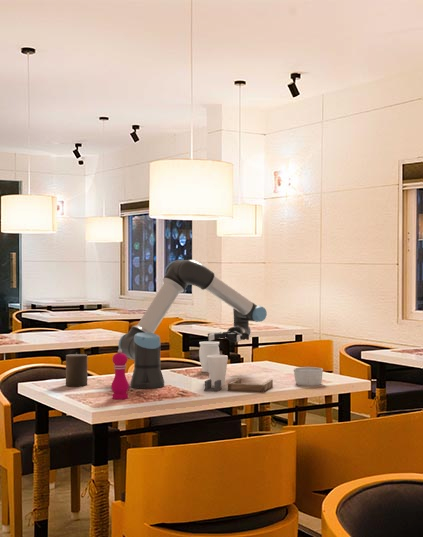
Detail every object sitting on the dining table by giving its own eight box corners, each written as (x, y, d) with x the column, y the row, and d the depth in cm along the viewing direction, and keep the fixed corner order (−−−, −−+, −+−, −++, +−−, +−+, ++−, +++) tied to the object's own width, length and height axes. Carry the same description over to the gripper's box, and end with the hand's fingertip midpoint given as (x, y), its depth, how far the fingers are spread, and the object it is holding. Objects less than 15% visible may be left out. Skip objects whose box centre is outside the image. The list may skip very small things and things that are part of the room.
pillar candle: (79, 387, 335) (79, 353, 335) (61, 386, 339) (61, 352, 339) (91, 384, 344) (91, 351, 344) (73, 383, 348) (74, 350, 348)
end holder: (264, 392, 319) (264, 385, 319) (227, 390, 324) (227, 383, 324) (272, 386, 334) (272, 379, 334) (237, 385, 339) (237, 378, 339)
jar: (196, 370, 388) (196, 341, 388) (216, 369, 391) (215, 340, 391) (202, 373, 378) (202, 343, 378) (222, 372, 381) (222, 342, 381)
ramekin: (313, 387, 332) (313, 371, 332) (288, 384, 340) (288, 369, 340) (328, 383, 342) (328, 368, 342) (303, 381, 350) (303, 366, 350)
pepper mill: (129, 396, 310) (129, 348, 310) (128, 399, 303) (128, 349, 303) (112, 396, 310) (111, 348, 310) (110, 399, 303) (110, 350, 303)
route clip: (217, 391, 322) (217, 381, 322) (204, 390, 324) (204, 381, 324) (221, 389, 328) (221, 379, 328) (208, 388, 330) (208, 379, 330)
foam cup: (228, 383, 344) (228, 354, 344) (227, 386, 335) (226, 357, 335) (208, 383, 345) (207, 354, 345) (205, 386, 336) (205, 357, 336)
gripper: (260, 342, 366) (249, 346, 346) (211, 341, 373) (197, 345, 353) (260, 326, 366) (249, 330, 346) (211, 326, 373) (197, 329, 353)
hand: (223, 338), depth 349 cm, fingers open, 13 cm apart
